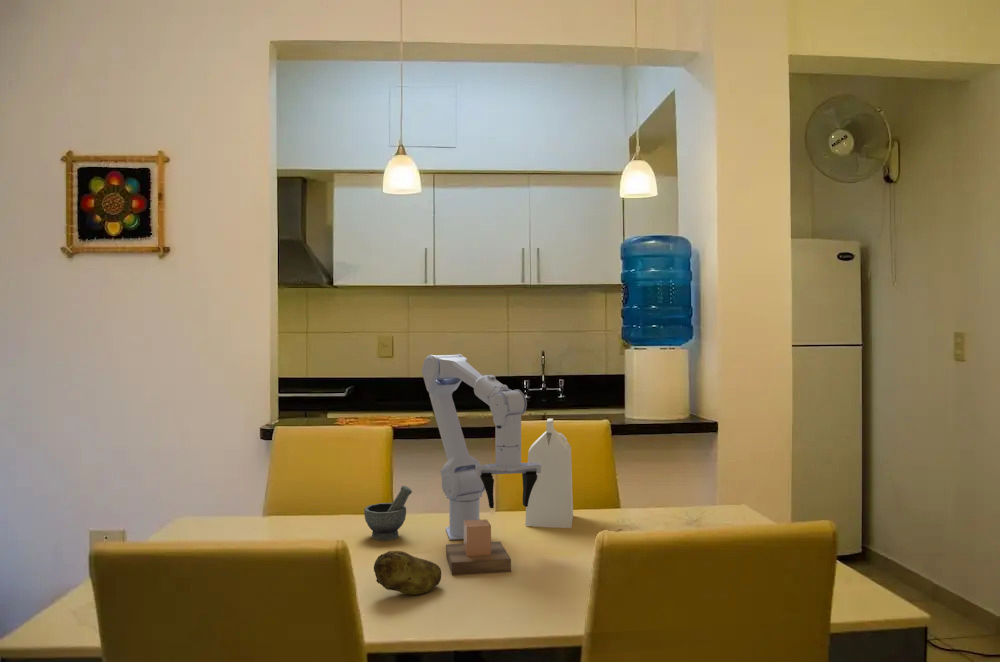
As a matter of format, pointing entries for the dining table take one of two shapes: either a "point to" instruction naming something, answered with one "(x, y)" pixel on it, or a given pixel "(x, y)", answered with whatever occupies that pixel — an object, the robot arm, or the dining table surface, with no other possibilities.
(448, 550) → the walnut base slab
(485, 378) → the robot arm
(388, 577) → the potato
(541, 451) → the milk
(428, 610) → the dining table surface
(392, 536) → the mortar and pestle
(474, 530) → the terracotta block
